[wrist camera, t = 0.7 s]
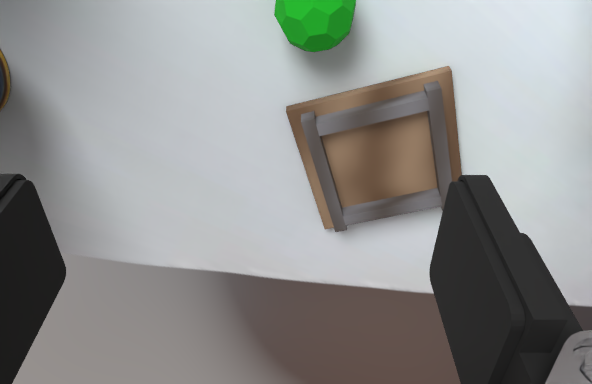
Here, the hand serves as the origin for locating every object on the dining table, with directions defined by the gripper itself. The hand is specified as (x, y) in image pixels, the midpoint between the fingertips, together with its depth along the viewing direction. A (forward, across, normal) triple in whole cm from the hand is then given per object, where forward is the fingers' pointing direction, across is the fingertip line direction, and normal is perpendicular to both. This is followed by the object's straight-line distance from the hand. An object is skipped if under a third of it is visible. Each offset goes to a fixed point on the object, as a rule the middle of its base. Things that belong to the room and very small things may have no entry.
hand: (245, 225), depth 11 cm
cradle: (+25, -8, +14) cm, 29 cm away
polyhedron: (+25, -2, +2) cm, 25 cm away
